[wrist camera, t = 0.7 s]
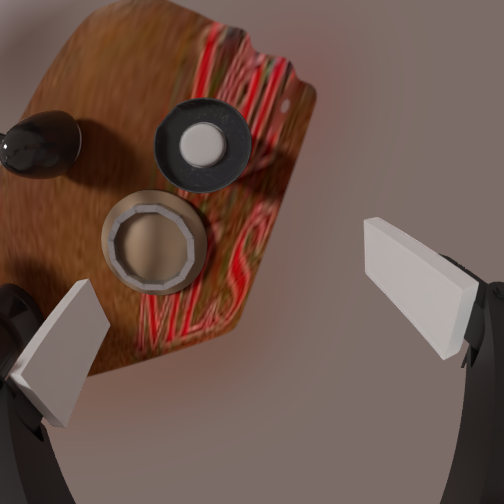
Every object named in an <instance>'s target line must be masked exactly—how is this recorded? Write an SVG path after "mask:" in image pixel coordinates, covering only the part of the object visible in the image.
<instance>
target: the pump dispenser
mask: <svg viewBox="0 0 504 504" xmlns="http://www.w3.org/2000/svg"><path fill="white" fill-rule="evenodd" d="M81 143H82V137H81V131H80V128H79V126H78V124H77V123H76V121H75V120H74V118H73V117H72V116H71V115H70V114H68V113H66V112H64V111H59V110H52V111H46V112H41V113H37V114H34V115H32V116H29V117H27V118H25V119H23V120H22V121H20V122H18V123H17V124H16V125H14V126H13V127H12V128H11V129H10V130H9V131H8V132H7V133H6V135H5V134H2V133H0V161H1V163H2V165H3V166H4V168H5V169H7V170H8V171H9V172H11V173H12V174H14V175H17V176H20V177H24V178H30V179H51V178H55V177H58V176H61V175H62V174H64V173H65V172H67V171H68V170H69V169H70V167H71V166H72V165H73V163H74V162H75V160H76V158H77V157H78V154H79V152H80V149H81Z"/></svg>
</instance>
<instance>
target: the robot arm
mask: <svg viewBox="0 0 504 504" xmlns="http://www.w3.org/2000/svg"><path fill="white" fill-rule="evenodd" d="M364 238H365V273H366V274H367V275H368V276H369V277H370V278H371V280H372V281H373V282H374V283H375V284H376V285H377V286H378V287H379V288H380V289H381V290H382V291H383V292H384V293H385V294H386V295H387V296H388V298H389V299H390V300H391V301H392V302H393V303H394V304H395V305H396V306H397V307H398V308H399V310H400V311H401V312H402V313H403V314H404V315H405V316H406V317H407V318H408V320H409V321H410V322H411V323H412V324H413V325H414V326H415V327H416V329H417V330H418V331H419V332H420V333H421V334H422V335H423V337H424V338H425V339H426V340H427V341H428V342H429V344H430V345H431V346H432V347H433V348H434V350H435V351H436V352H437V353H438V354H439V356H440V357H441V358H442V359H443V360H445V359H447V358H449V357H451V356H453V355H454V354H456V353H458V352H459V351H460V348H461V345H462V342H463V340H464V339H465V340H466V341H467V342H468V343H469V347H468V350H467V353H466V355H465V358H464V360H463V363H462V366H461V368H464V366H465V364H466V363H467V366H466V367H467V368H466V383H465V394H464V402H463V410H462V417H461V423H460V429H459V435H458V440H457V445H456V450H455V454H454V459H453V462H452V466H451V470H450V473H449V477H448V480H447V484H446V487H445V490H444V493H443V496H442V499H441V502H440V504H504V283H503V282H492V283H489V284H487V283H486V282H484V281H483V280H481V279H480V278H479V277H477V276H476V275H475V274H473V273H472V272H470V271H469V270H467V269H465V267H463V266H462V265H460V264H459V265H458V263H457V262H456V261H454V260H453V259H451V258H450V257H447V256H444V255H441V254H437V253H436V252H434V251H433V250H431V249H430V248H428V247H426V246H425V245H423V244H422V243H420V242H419V241H417V240H415V239H414V238H412V237H411V236H409V235H407V234H406V233H404V232H402V231H401V230H399V229H398V228H396V227H394V226H392V225H391V224H389V223H387V222H386V221H384V220H382V219H381V218H379V217H375V218H370V219H365V220H364ZM109 327H110V323H109V321H108V319H107V317H106V315H105V313H104V311H103V309H102V307H101V305H100V303H99V301H98V299H97V296H96V294H95V292H94V290H93V287H92V285H91V283H90V281H89V279H85V280H81V281H77V282H76V283H75V284H74V285H73V287H72V288H71V289H70V290H69V291H68V293H67V294H66V295H65V296H64V298H63V299H62V300H61V301H60V302H59V304H58V305H57V306H56V307H55V309H54V310H53V311H52V313H51V314H50V315H49V316H48V318H47V319H46V320H45V322H44V319H43V317H42V314H41V312H40V310H39V308H38V307H37V305H36V303H35V302H34V301H33V299H32V298H31V297H30V296H29V295H28V294H27V293H26V292H25V291H24V290H22V289H21V288H19V287H18V286H16V285H13V284H3V285H1V286H0V504H76V503H75V501H74V499H73V497H72V495H71V493H70V491H69V489H68V486H67V484H66V482H65V480H64V477H63V475H62V473H61V470H60V467H59V465H58V462H57V460H56V458H55V454H54V451H53V449H52V446H51V443H50V440H49V436H48V433H47V430H46V428H45V426H44V425H43V424H42V423H41V420H42V418H43V417H44V418H45V419H46V420H47V421H48V422H49V423H50V424H51V425H52V426H55V427H62V428H66V427H67V424H68V422H69V419H70V416H71V414H72V411H73V408H74V406H75V403H76V401H77V398H78V396H79V393H80V391H81V389H82V386H83V384H84V381H85V379H86V377H87V375H88V372H89V370H90V368H91V365H92V363H93V361H94V359H95V357H96V354H97V352H98V350H99V348H100V346H101V344H102V342H103V339H104V337H105V335H106V333H107V331H108V329H109ZM8 375H9V377H8V378H7V376H8ZM6 378H7V380H6ZM5 380H6V381H5Z"/></svg>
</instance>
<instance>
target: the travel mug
mask: <svg viewBox="0 0 504 504" xmlns="http://www.w3.org/2000/svg"><path fill="white" fill-rule="evenodd" d="M251 149H252V139H251V133H250V129H249V127H248V124H247V123H246V121H245V119H244V118H243V116H242V115H241V114H240V113H239V112H238V111H237V110H236V109H235V108H234V107H232V106H231V105H229V104H228V103H226V102H223V101H221V100H218V99H214V98H195V99H190V100H187V101H184V102H181V103H179V104H177V105H176V106H175V107H174V109H173V110H172V111H171V112H170V113H169V114H168V115H167V116H166V117H165V118H164V120H163V121H162V122H161V124H160V125H159V126H158V127H157V129H156V132H155V136H154V157H155V160H156V163H157V166H158V168H159V170H160V171H161V173H162V174H163V175H164V177H165V178H166V179H167V180H168V181H169V182H170V183H172V184H173V185H174V186H176V187H178V188H180V189H182V190H185V191H188V192H192V193H210V192H214V191H218V190H220V189H223V188H225V187H226V186H228V185H230V184H231V183H232V182H234V181H235V180H236V179H237V178H238V177H239V176H240V175H241V173H242V172H243V171H244V169H245V168H246V166H247V164H248V161H249V158H250V155H251Z"/></svg>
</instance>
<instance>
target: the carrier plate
mask: <svg viewBox="0 0 504 504" xmlns="http://www.w3.org/2000/svg"><path fill="white" fill-rule="evenodd" d="M101 241H102V249H103V254H104V257H105V260H106V262H107V264H108V266H109V267H110V269H111V270H112V272H113V273H114V274H115V276H116V277H117V278H118V279H119V280H120V281H122V282H123V283H124V284H125V285H127V286H128V287H130V288H132V289H134V290H136V291H138V292H141V293H145V294H150V295H166V294H171V293H175V292H177V291H180V290H182V289H183V288H185V287H187V286H188V285H189V284H191V283H192V282H193V281H194V280H195V279H196V277H197V276H198V275H199V273H200V272H201V270H202V268H203V265H204V263H205V259H206V254H207V234H206V230H205V227H204V224H203V222H202V220H201V218H200V216H199V215H198V213H197V212H196V210H195V209H194V208H193V207H192V206H191V205H190V204H189V203H188V202H187V201H186V200H184V199H183V198H181V197H180V196H178V195H176V194H174V193H171V192H168V191H165V190H159V189H146V190H141V191H137V192H134V193H132V194H130V195H128V196H127V197H125V198H123V199H122V200H120V201H119V202H118V203H117V204H116V205H115V206H114V207H113V208H112V209H111V211H110V212H109V214H108V215H107V217H106V220H105V222H104V225H103V229H102V239H101Z"/></svg>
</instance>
